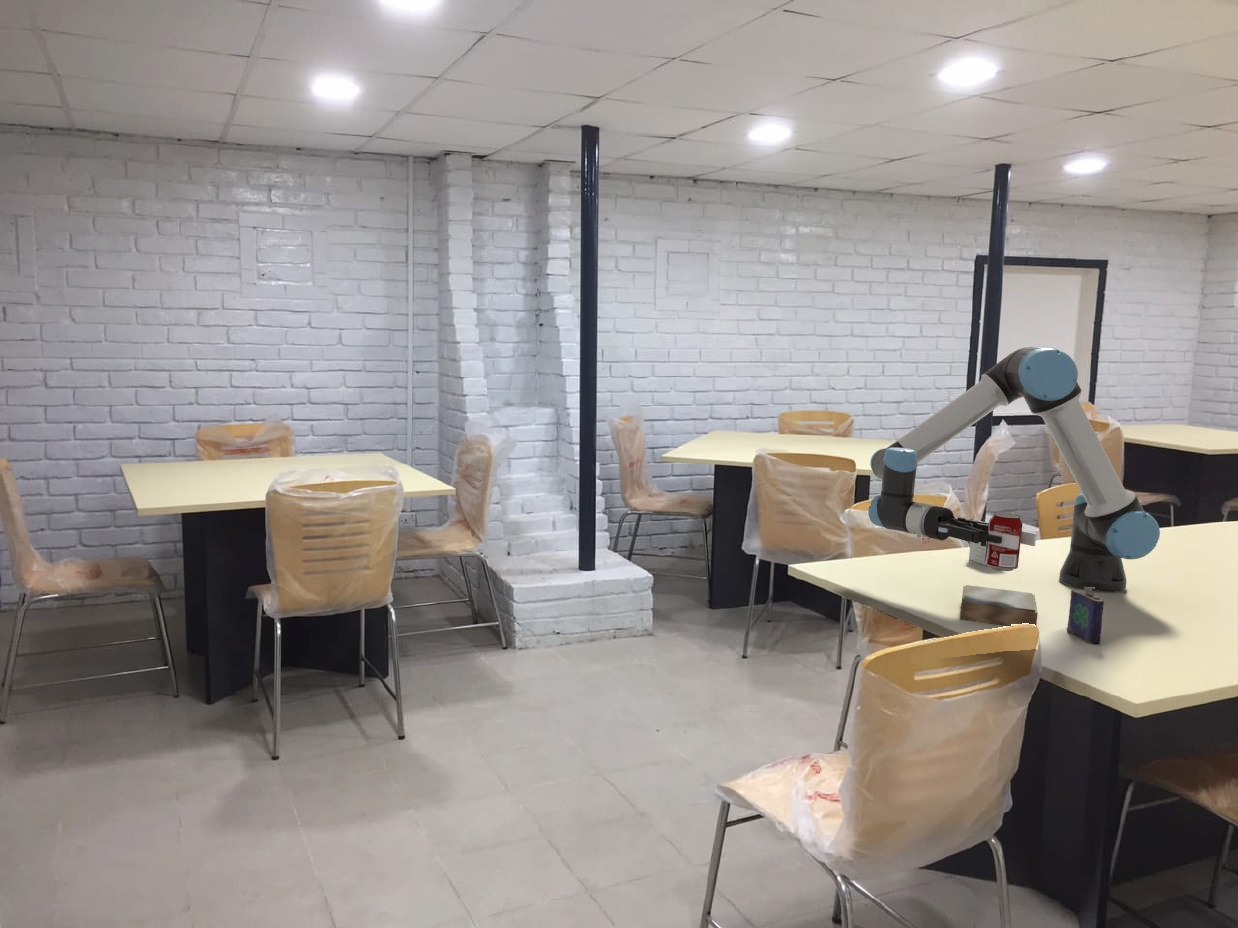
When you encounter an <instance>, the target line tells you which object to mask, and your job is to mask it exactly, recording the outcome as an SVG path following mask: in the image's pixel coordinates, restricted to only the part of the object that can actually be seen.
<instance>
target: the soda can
mask: <svg viewBox="0 0 1238 928" xmlns="http://www.w3.org/2000/svg"><path fill="white" fill-rule="evenodd" d="M988 522H989V526H988V534H989V531H994V532H998V533H1004V534H1008V535H1013V536H1018V537H1019V544H1018V549H1017V550H1015V549H1011V548H1006V547H1002V546H997V545H992V544H988V541H987V545H986V554H985V564H986V565H987V566H986V567H988V568H989V569H991V570H994V571H1001V572H1012V571H1014V570H1016V569H1018V568H1019V560H1020V552H1021V551H1020V549H1021V534H1022V531H1023V522H1022V521H1021V515H1020V514H1018V513H1016V512H1015V513H1014V512H1008V511H993V512H992V516H991V518H990V519H989V520H988Z"/></svg>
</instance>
